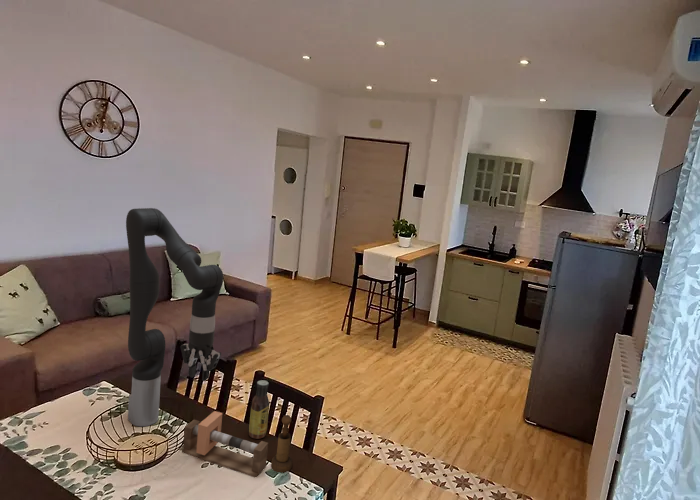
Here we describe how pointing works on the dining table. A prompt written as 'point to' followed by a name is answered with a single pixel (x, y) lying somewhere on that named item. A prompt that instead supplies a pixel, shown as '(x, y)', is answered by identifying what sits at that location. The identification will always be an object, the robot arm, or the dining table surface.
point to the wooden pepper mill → (283, 449)
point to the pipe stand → (227, 451)
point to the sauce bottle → (259, 411)
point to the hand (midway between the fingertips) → (198, 377)
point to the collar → (208, 432)
